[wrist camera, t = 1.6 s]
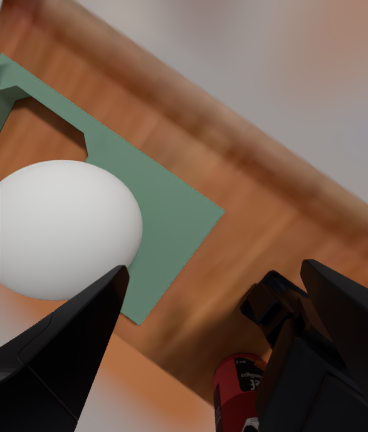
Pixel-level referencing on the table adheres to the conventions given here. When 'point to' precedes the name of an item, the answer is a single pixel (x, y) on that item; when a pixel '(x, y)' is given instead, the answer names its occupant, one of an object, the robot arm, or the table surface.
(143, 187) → the putting board
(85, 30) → the table surface
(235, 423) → the canned food
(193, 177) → the table surface
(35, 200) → the ball
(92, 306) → the robot arm
